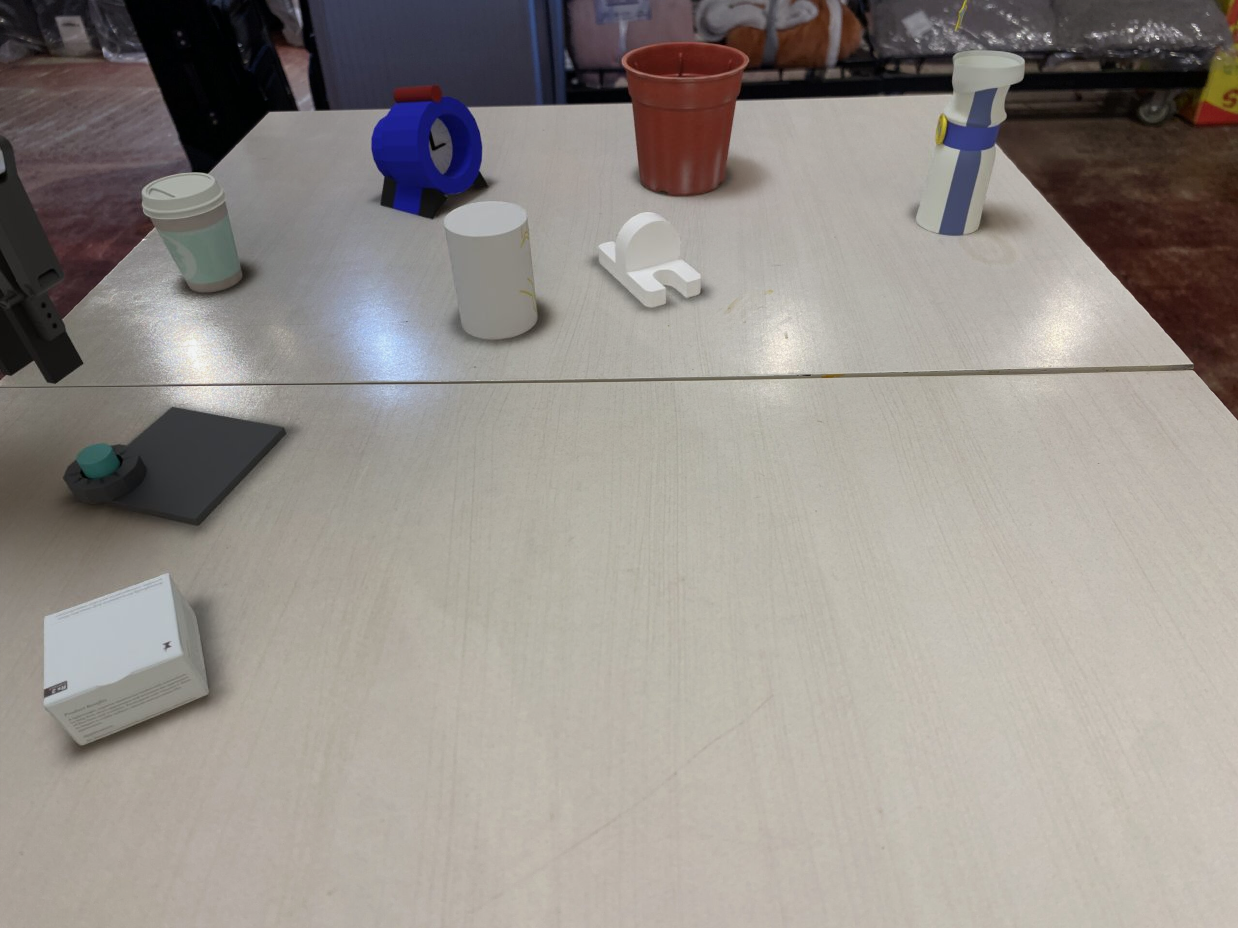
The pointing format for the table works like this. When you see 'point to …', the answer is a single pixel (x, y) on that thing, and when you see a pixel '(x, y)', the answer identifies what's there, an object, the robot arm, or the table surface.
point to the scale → (179, 465)
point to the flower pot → (683, 112)
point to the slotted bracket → (649, 260)
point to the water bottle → (967, 140)
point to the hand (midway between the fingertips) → (43, 368)
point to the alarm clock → (426, 150)
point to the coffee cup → (195, 229)
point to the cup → (492, 268)
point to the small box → (122, 659)
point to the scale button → (98, 460)
